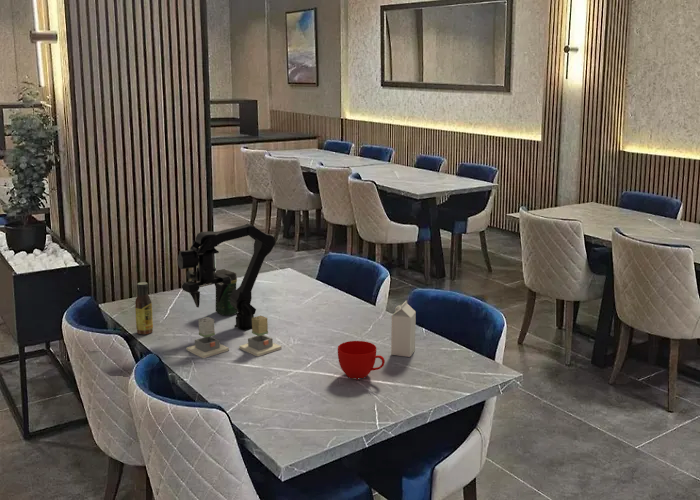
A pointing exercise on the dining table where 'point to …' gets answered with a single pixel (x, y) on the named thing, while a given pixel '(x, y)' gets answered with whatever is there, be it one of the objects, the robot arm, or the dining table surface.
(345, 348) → the ceramic cup
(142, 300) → the sauce bottle
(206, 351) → the stand
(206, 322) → the column
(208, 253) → the robot arm
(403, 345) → the milk carton
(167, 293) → the dining table surface
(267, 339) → the stand
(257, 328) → the column
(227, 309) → the coffee jar
